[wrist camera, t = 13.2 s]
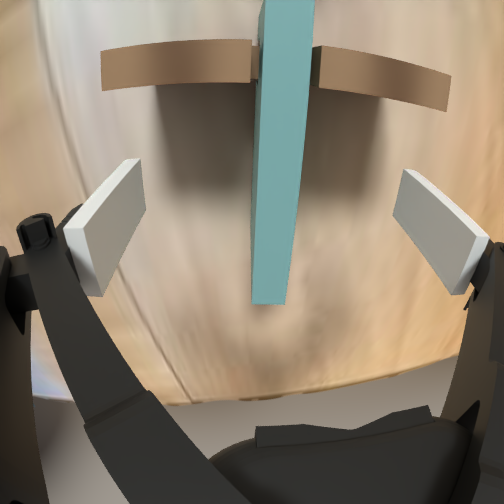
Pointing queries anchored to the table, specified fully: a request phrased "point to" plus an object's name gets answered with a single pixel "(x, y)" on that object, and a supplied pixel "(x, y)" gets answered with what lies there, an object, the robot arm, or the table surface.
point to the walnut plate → (247, 67)
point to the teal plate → (278, 141)
